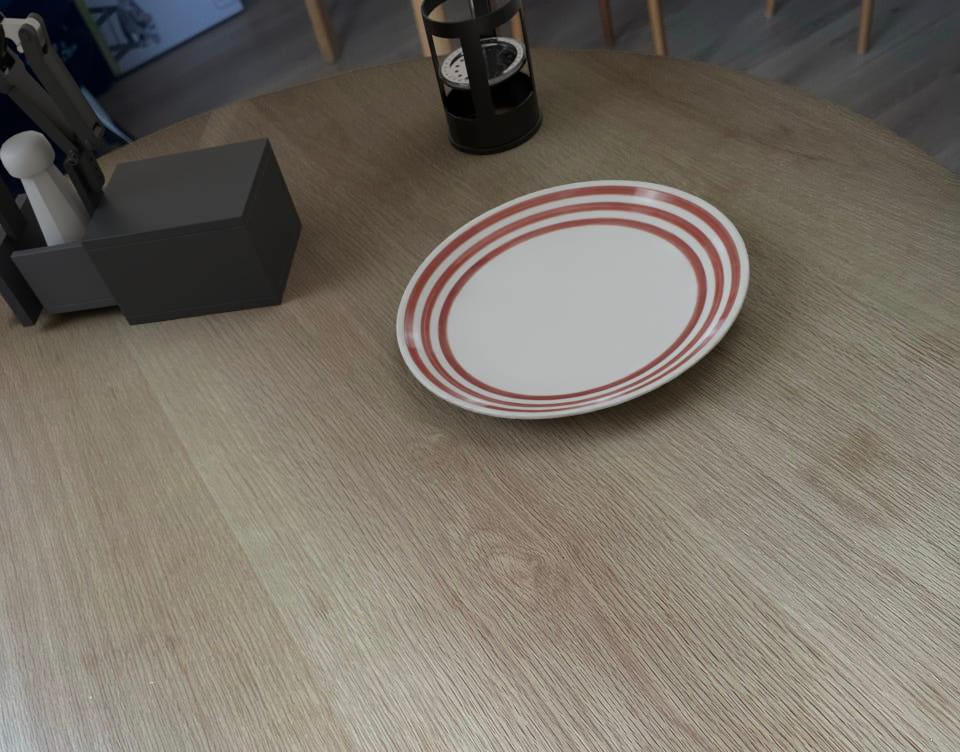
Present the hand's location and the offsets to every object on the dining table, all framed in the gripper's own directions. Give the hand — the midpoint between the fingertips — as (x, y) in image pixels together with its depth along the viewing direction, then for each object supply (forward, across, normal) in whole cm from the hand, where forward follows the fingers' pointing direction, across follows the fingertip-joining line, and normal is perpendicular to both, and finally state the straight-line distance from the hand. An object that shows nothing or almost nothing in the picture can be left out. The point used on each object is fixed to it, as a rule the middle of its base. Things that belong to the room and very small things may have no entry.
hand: (62, 227), depth 92 cm
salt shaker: (+5, +1, 0) cm, 5 cm away
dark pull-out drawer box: (+6, -2, 0) cm, 6 cm away
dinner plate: (+5, +46, -13) cm, 48 cm away
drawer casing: (+6, +12, 0) cm, 14 cm away
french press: (+5, +38, +18) cm, 42 cm away
